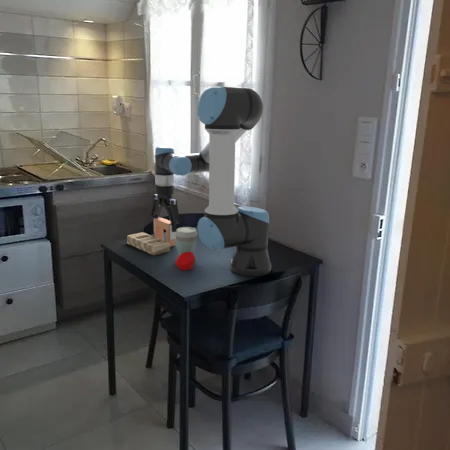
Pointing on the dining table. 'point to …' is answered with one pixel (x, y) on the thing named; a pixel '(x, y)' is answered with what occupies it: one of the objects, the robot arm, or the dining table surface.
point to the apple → (185, 261)
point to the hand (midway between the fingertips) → (164, 235)
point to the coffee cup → (186, 239)
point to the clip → (159, 230)
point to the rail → (148, 243)
